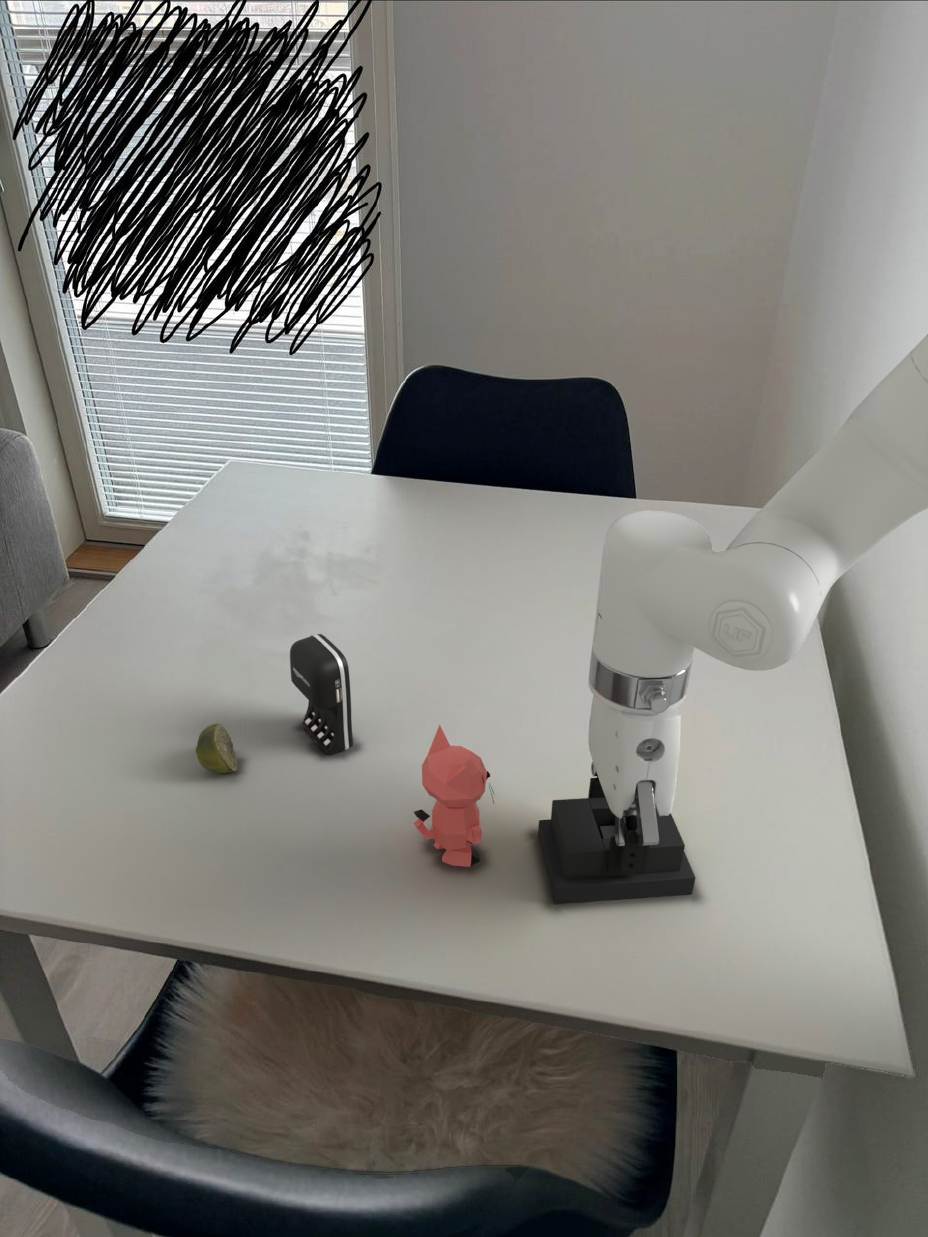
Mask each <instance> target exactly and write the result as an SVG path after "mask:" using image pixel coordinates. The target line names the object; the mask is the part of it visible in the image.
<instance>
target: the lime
mask: <svg viewBox="0 0 928 1237" xmlns="http://www.w3.org/2000/svg"><path fill="white" fill-rule="evenodd" d="M195 753H196V758H197V760H198V763H199V764H200V766H201V767H203V769H205V770H207V771H209V772H213V773H216V774H231V773H234V772H236V771H237V770H238V760H237V755H236V752H235V749H234V744H233V741H232V738H231V736H230V734H229V732H228V731H227V730H226V728H225V727H224V726H223V725H222V724H221V723H211V724H209V725H207V726H206V727H205V728H204V729H203V730H202V731H201V732H200V734H199V736H198V739H197V744H196V748H195Z"/></svg>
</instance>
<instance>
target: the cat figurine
mask: <svg viewBox="0 0 928 1237" xmlns="http://www.w3.org/2000/svg"><path fill="white" fill-rule="evenodd" d="M489 778H491V773H490V772H489V771H488V770H487V768H486V766H485V764H484V762H483V759H482V757H481V756H479V755H477V754H476V753H475V752H473V751H472V750H470V749H468V748H466V747H463V746H462V745H451V744H450V742H449V740H448V738H447V737H446V734H445V732H444V729H443V728H442V726H441V724H438V727H437V730H436V731H435V734H434V737H433V740H432V742H431V745H430V747H429V750H428V753H427V755H426V757H425V759H424V761H423V762H422V764H421V785H422V787H423V788H424V790H425V791H426V793H427V794H428V796H430V797H431V798H433V799H435V803H434V805H433V807H432V809H431V815H430V814H429V813H427V812H426V811H425V810H423V808H421V809H417V810H415V811H413V813H414V815H415V817H416V818H417V819H416V820H414V822H413V825H414V827H415V829H416V830H417V831H418V832H419V833H420V834H421V835H422V836H423V838H425V840H430V839H433V841H434V844H433V847H434V848H435V849H436V850H446V851H445V852H444V853H443V854H442V856H441V861H442V863H444V864H448V865H450V866H452V867H453V866H454V867H467V868H471V867H473V866H474V865H476V864H477V863H479V862H480V861H481V858H480V853H479V852H478V851H477V850H476V849H475V848H473V847H472V845H475V844H477V843H481V842H482V841H483V831H482V828H481V821H480V820H481V818H480V816H481V815H480V809H479V807H478V804H477V802H478V801H479V800H480V799H481V798H482V797H483V795H484V793H486V787H487V780H488V779H489ZM488 788H489V791H490V795H491V799H492V802H493V804H495V800H494V798H493V794H495V791H494V789H493V787H492V786H491V783H490V782H489V786H488ZM492 793H493V794H492ZM430 817H431V829H429V830H428V828H427V826H426V825H425V822H426V821H427V820H428V819H429V818H430Z"/></svg>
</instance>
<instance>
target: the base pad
mask: <svg viewBox="0 0 928 1237" xmlns="http://www.w3.org/2000/svg"><path fill="white" fill-rule="evenodd" d="M550 823H551V818H550V819H549V818H548V819H539V820H538V827H537V838H538V843H539V848H540V851H541V856H542V859H543V864H544V867H545V872H546V875H547V879H548V883H549V884H548V885H549V888H550V893H551V897H552V901H553V904H555V905H560V904H573V903H588V902H599V901H601V902H602V901H615V900H627V899H628V900H629V899H641V898H642V899H643V898H655V897H656V898H657V897H667V896H669V897H670V896H671V897H672V896H682V895H683V896H684V895H693V892H694V886H695V882H696V875H695V873H694V870H693V869H692V866H691V863H690V862H689V859H688V857H687V855H686V852H685V851H684V853H683V858H682V863H681V868H680V871H670V872H656V873H642V874H634V875H619V876H599V877H585V878H571V879H565V878H564V875H563V871H562V867H561V863H560V860H559V856H558V852H557V848H556V845H555V841H554V837H553V833H552V829H551V826H550ZM625 831H628V829H627V826H626V825H625ZM599 834H600V837H601V839H608V838H610V837H613V836H615V826H600V827H599Z"/></svg>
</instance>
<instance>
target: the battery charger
mask: <svg viewBox="0 0 928 1237" xmlns="http://www.w3.org/2000/svg"><path fill="white" fill-rule="evenodd" d="M289 649H290V650H289V667H290V680H291V682H292V684H293V685H294V687H295V688H296V689H298V691H299V692H300V694H302V695H303V696H304V697H305V699H307V700H308V704H307V709H306V712H305V713H304V714H305V715H304V717H303V720H302V723H301V724H302V728H303V731H305V733H306V734H307V735H308V737H310V739H311V740H312V741H313V742H314V743H315V745H317V746H318V747H319V749H320V750H321V751H323V752H324V753H326V754H335V753H339V752H342V751H347V750H349V749H350V748H352V747H353V745H354V737H353V725H352V724H353V723H352V722H353V721H352V720H353V719H352V696H351V682H350V681H351V680H350V669H349V664H348V660H347V658H346V656H345V654H344V653H343V652H342V651H341V650H340V649H339V648H338V647H337V646H336V645H335V644H334V643H333V642H332V641H331V640H329V639H328V637H326V636H325V635H323V634H322V633H314V634H311V635H310V636H307V637H304V638H301V639H299V640H296V641H295V642H294V643H293V644H292V645H291V646H290V648H289Z"/></svg>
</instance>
